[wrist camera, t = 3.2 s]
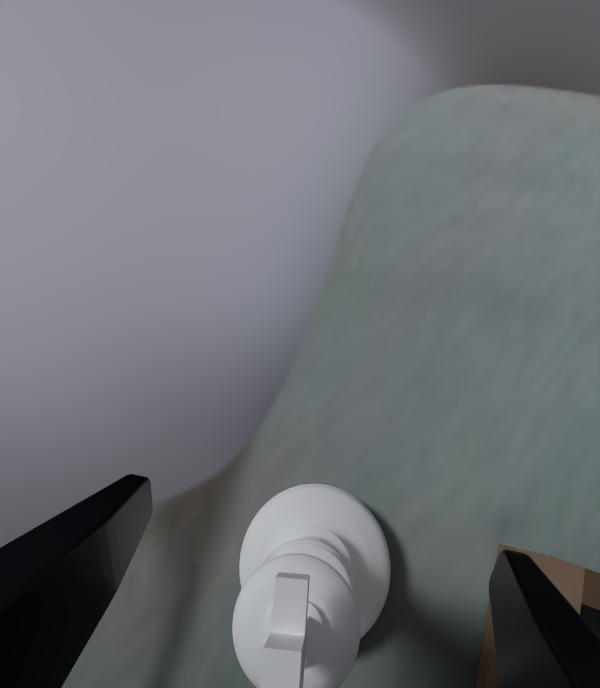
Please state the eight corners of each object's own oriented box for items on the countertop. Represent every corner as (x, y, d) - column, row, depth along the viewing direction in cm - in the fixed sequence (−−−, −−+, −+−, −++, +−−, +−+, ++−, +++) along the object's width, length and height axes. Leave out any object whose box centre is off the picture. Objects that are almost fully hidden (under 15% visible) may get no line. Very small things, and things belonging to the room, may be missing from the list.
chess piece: (390, 489, 15) (491, 460, 5) (390, 659, 13) (540, 1055, 4) (249, 478, 15) (118, 435, 6) (231, 641, 13) (3, 952, 4)
